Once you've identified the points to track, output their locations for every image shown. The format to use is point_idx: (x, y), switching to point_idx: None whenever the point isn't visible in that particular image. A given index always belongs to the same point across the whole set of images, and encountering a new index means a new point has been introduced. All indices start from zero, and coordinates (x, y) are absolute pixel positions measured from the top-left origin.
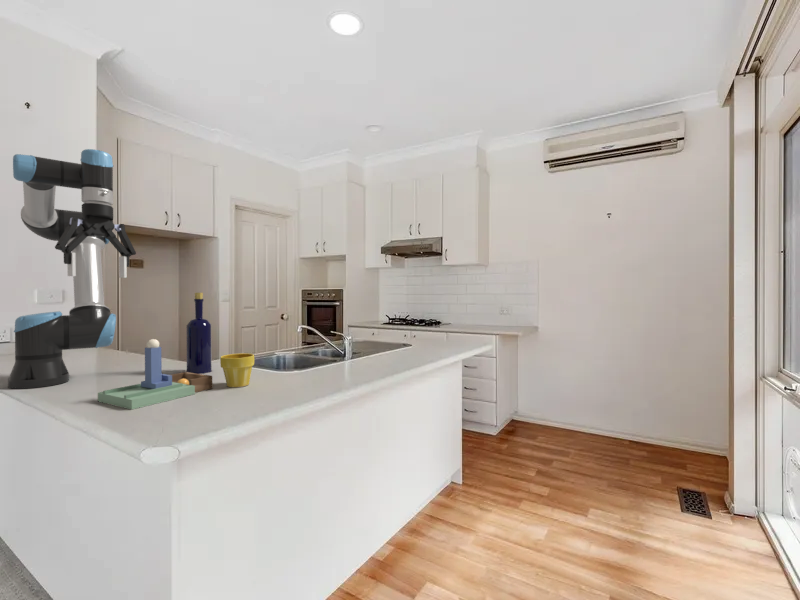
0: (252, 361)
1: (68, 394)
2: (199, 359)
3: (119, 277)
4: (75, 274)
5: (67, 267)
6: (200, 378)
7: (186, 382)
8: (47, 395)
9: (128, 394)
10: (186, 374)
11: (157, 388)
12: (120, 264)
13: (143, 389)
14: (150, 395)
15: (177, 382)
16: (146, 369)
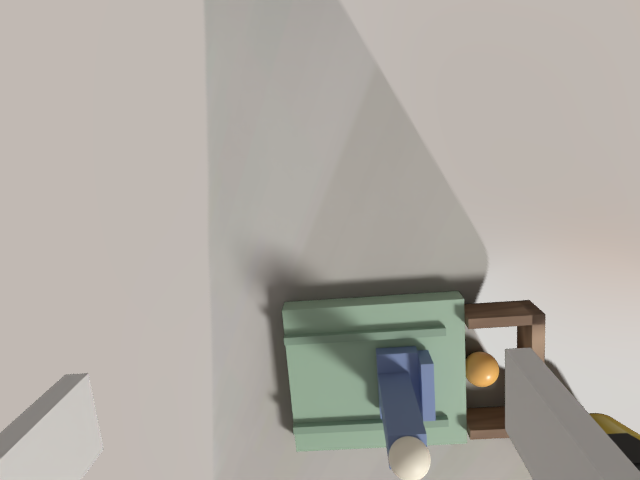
0: None
1: (271, 142)
2: None
3: (506, 352)
4: (95, 459)
5: (15, 419)
6: (500, 437)
7: (483, 386)
8: (231, 103)
9: (302, 429)
10: (530, 334)
11: (376, 425)
12: (565, 460)
13: (367, 373)
14: (342, 447)
15: (468, 369)
16: (381, 401)
